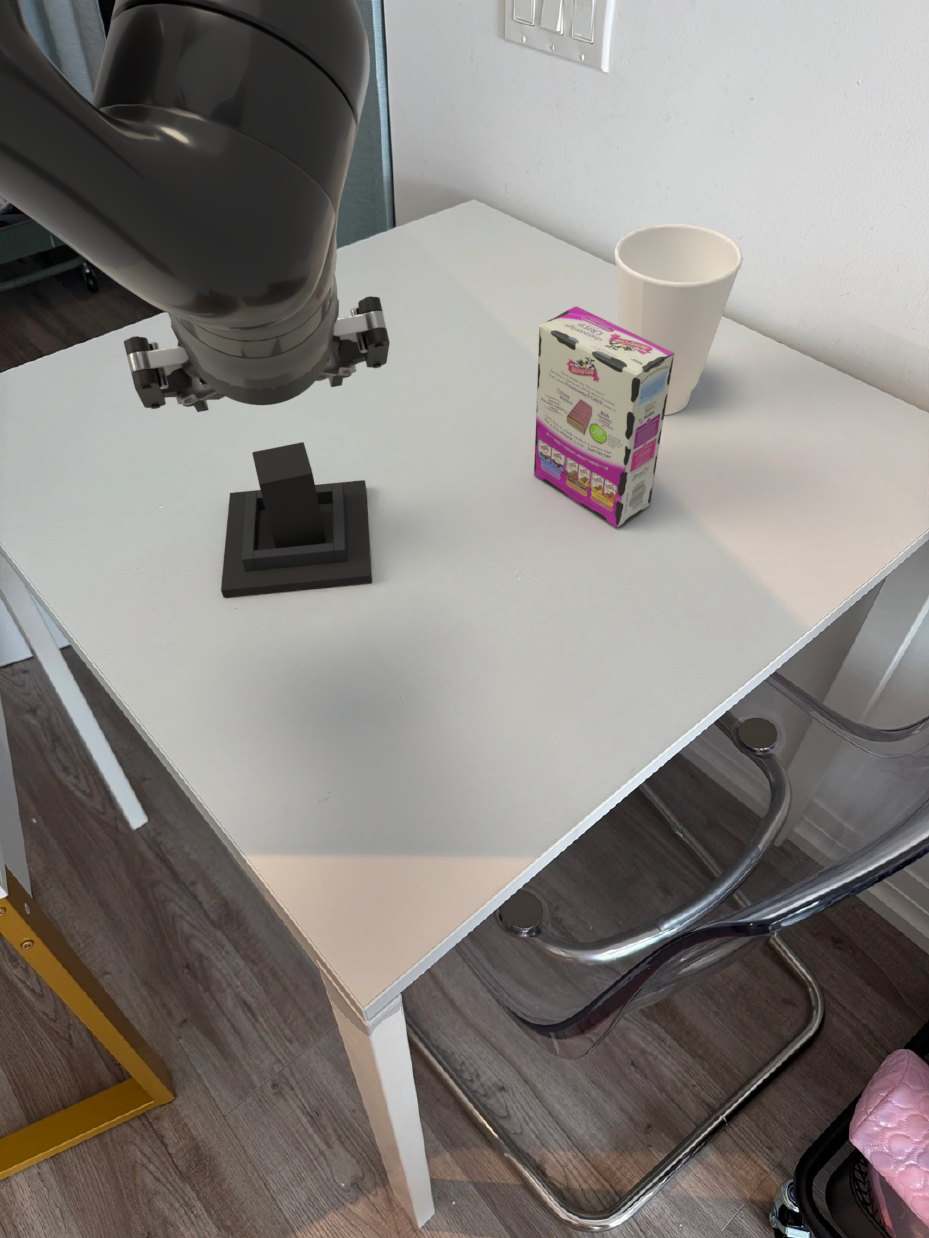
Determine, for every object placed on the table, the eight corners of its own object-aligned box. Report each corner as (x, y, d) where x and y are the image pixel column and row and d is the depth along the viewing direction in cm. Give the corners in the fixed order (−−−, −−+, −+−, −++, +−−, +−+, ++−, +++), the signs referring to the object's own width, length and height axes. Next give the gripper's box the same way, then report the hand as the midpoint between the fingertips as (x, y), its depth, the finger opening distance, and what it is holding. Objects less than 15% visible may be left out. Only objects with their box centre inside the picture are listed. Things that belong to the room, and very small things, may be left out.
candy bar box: (653, 505, 85) (678, 352, 73) (617, 531, 83) (638, 377, 71) (566, 452, 91) (576, 301, 79) (531, 475, 89) (536, 323, 77)
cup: (733, 390, 97) (766, 246, 85) (674, 444, 91) (700, 298, 79) (640, 353, 102) (658, 212, 90) (578, 401, 97) (589, 258, 85)
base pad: (223, 598, 79) (216, 578, 77) (231, 500, 88) (226, 480, 86) (371, 583, 80) (368, 563, 78) (366, 487, 88) (363, 467, 86)
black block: (276, 553, 81) (259, 484, 75) (269, 520, 84) (252, 452, 78) (326, 542, 82) (312, 473, 76) (317, 510, 85) (303, 441, 79)
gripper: (385, 202, 43) (362, 306, 59) (76, 249, 41) (138, 344, 57) (420, 359, 44) (387, 420, 59) (117, 415, 41) (167, 462, 57)
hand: (266, 383), depth 58 cm, fingers open, 8 cm apart
